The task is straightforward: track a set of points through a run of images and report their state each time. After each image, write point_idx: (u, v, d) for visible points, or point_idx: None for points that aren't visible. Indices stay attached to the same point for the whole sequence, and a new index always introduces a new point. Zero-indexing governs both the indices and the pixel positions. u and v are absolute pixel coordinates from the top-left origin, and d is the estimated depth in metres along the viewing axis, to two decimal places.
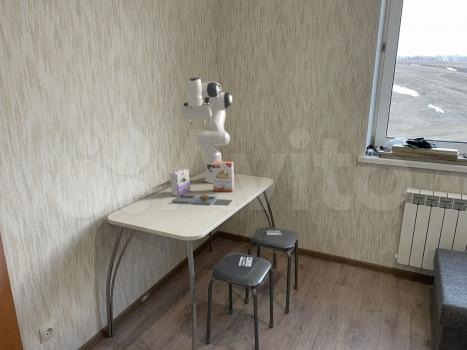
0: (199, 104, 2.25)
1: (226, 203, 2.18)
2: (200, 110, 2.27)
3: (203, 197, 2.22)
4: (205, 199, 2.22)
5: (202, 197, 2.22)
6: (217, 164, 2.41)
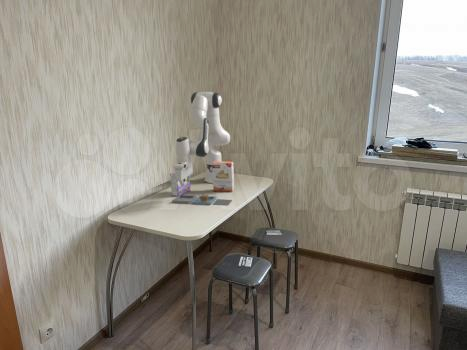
0: None
1: (226, 203, 2.18)
2: (188, 169, 2.25)
3: (203, 197, 2.22)
4: (205, 199, 2.22)
5: (202, 197, 2.22)
6: (217, 164, 2.41)
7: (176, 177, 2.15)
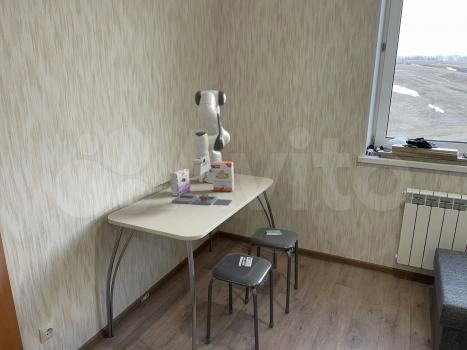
0: None
1: (226, 203, 2.18)
2: (206, 164, 2.21)
3: (203, 197, 2.22)
4: (205, 199, 2.22)
5: (202, 197, 2.22)
6: (217, 164, 2.41)
7: (195, 172, 2.10)
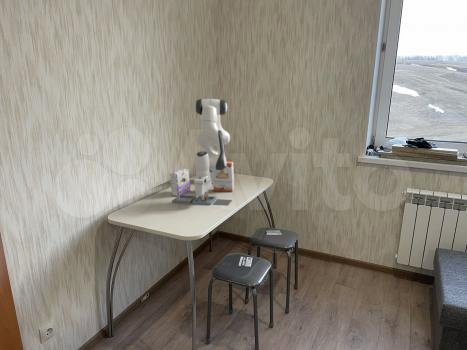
0: None
1: (226, 203, 2.18)
2: (207, 183, 2.24)
3: None
4: (205, 199, 2.22)
5: None
6: None
7: (196, 192, 2.13)
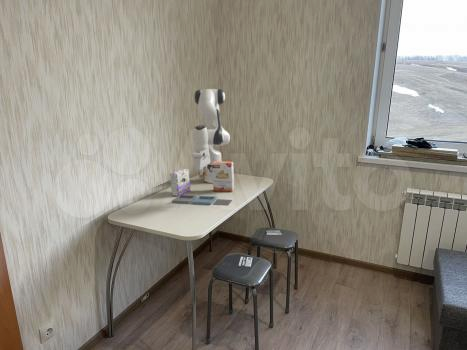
0: None
1: (226, 203, 2.18)
2: (206, 158, 2.20)
3: None
4: (204, 174, 2.18)
5: None
6: (217, 164, 2.41)
7: (195, 166, 2.09)
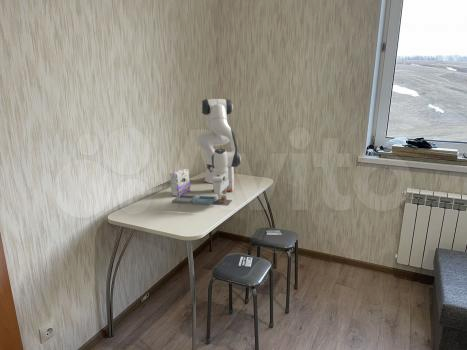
0: None
1: (226, 203, 2.18)
2: (225, 181, 2.20)
3: (221, 198, 2.19)
4: (223, 200, 2.19)
5: None
6: None
7: (215, 190, 2.10)
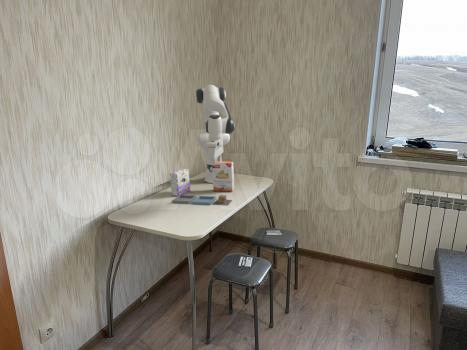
0: None
1: (226, 203, 2.18)
2: (219, 147, 2.20)
3: (221, 198, 2.19)
4: (223, 200, 2.19)
5: (220, 198, 2.19)
6: (217, 164, 2.41)
7: (209, 155, 2.09)
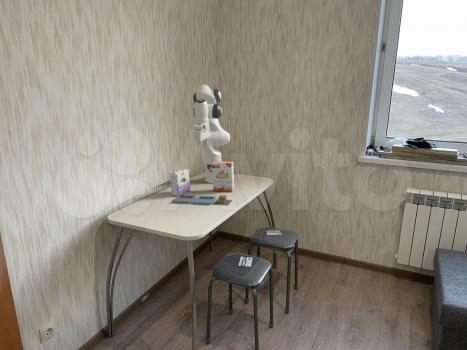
0: None
1: (226, 203, 2.18)
2: (206, 131, 2.30)
3: (221, 198, 2.19)
4: (223, 200, 2.19)
5: (220, 198, 2.19)
6: (217, 164, 2.41)
7: (195, 137, 2.19)
